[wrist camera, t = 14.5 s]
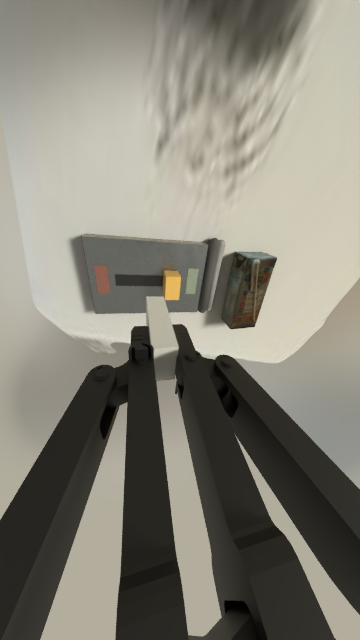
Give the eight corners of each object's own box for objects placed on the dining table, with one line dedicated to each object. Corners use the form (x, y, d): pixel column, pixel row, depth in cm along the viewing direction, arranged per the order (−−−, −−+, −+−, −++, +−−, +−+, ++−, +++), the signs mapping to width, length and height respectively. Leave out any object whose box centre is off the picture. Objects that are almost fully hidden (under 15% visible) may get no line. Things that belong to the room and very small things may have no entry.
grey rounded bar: (208, 236, 39) (211, 238, 37) (224, 238, 39) (229, 239, 37) (195, 309, 48) (198, 314, 46) (209, 309, 49) (212, 314, 47)
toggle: (163, 270, 37) (166, 276, 34) (177, 270, 38) (181, 277, 35) (162, 292, 40) (164, 300, 37) (175, 292, 41) (178, 299, 37)
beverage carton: (263, 250, 43) (281, 257, 38) (244, 316, 54) (256, 329, 48) (234, 250, 42) (248, 257, 36) (220, 318, 52) (229, 331, 47)
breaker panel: (85, 233, 34) (81, 236, 31) (203, 242, 39) (208, 245, 36) (98, 307, 42) (95, 314, 40) (193, 306, 48) (197, 312, 45)
